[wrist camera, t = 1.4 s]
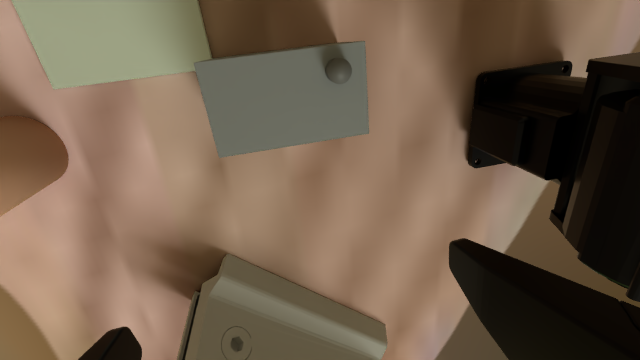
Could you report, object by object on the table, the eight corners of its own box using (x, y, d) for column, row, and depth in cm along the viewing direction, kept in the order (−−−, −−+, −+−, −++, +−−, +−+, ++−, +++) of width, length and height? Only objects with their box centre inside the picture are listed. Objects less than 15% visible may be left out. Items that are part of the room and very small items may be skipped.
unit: (337, 42, 17) (369, 40, 12) (343, 117, 19) (373, 143, 14) (212, 58, 16) (190, 63, 11) (231, 134, 18) (219, 168, 13)
